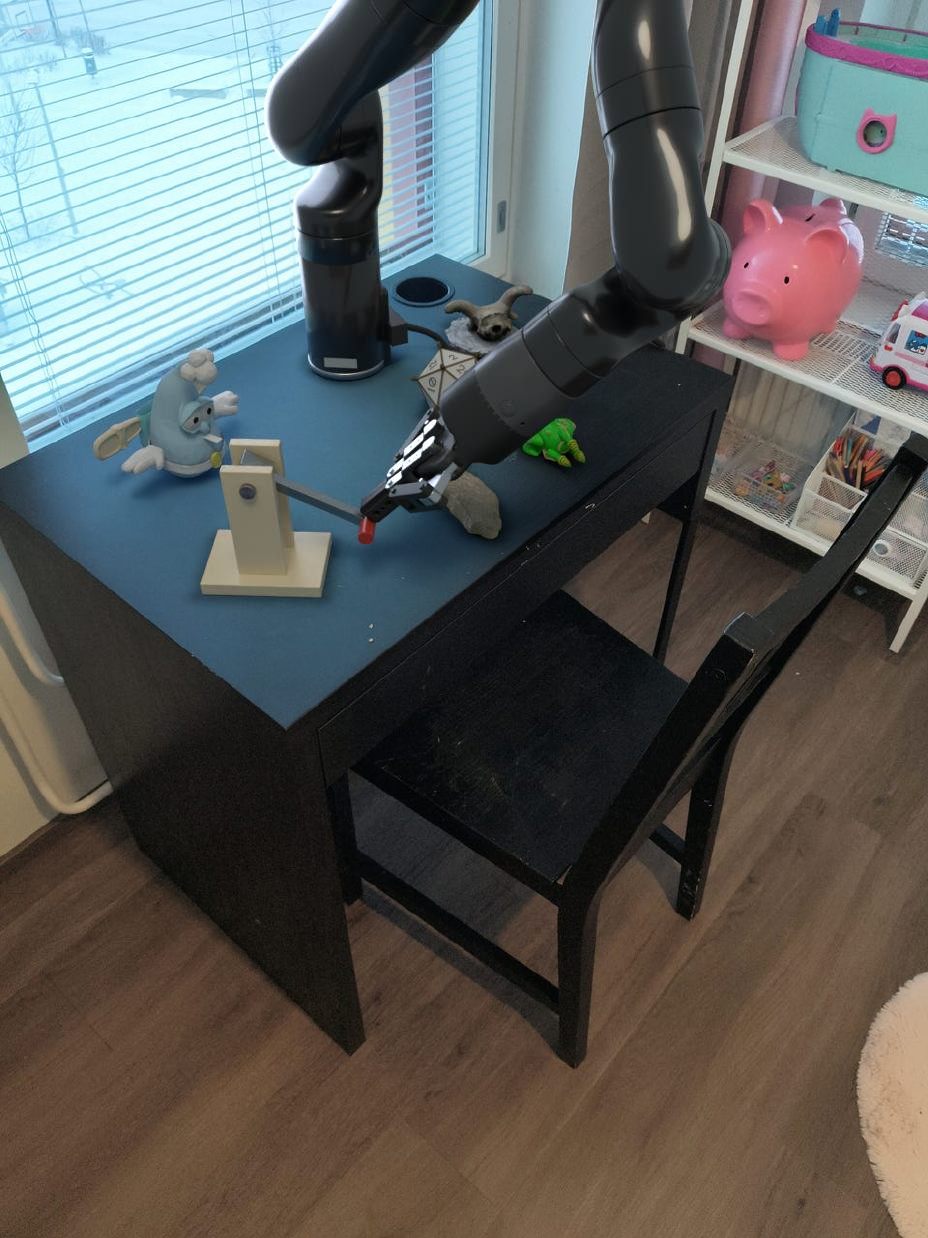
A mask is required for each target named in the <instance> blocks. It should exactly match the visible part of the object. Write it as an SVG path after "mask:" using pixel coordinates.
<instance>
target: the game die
mask: <svg viewBox="0 0 928 1238" xmlns="http://www.w3.org/2000/svg"><path fill="white" fill-rule="evenodd" d="M436 346H437V348H438V350H437V351H436V352H435V354H434V355H433V356H432V358H431V359H430V360H429V361H428V363H427V365H426V366H425V367H424V368H423V370H422V371H421V372H420V374H419V375H418V376H417V377H416V376H410V377H409V380H410V381H411V382H417V384H418V386H419V389H420V391H421V393H422V395H423V397H424V398H425V402H426V404H427V406H428V408H429V409H430V408H432V407H433V408H435V409H436V410H437V411H438V412H440V408H439V399H440V396H441V394H442V392H443V391H444V390H446V389H447V388H448V387H449V386H450V385H451V384H452V383H454V382H455V381H456V380H457V379H458V378H459V377H461V376H462V375H463V374H464V373H465V372H466V371H468V370H469V369H470V368H471V367H472V366H473V365H474V364H476V363H477V362H478V361H479V359H477V358H478V357H479V356H481V351H479V352H477V353H476V354H475V356H473V355H469V354H465V353H461V352H456V351H452V350H448V349H444V348H442V345H441V343H440V342H439V341H437V342H436Z"/></svg>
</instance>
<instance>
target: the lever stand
mask: <svg viewBox="0 0 928 1238" xmlns="http://www.w3.org/2000/svg"><path fill="white" fill-rule="evenodd" d="M282 447H283V446H282V441H281V439H256V438H230V440H229V444H228V448H229V454H230V459H231V460H230V461H231V465H230V464H229V465H227V464H223V465H222V464H221V465H220V469H219V477H220V483H221V487H222V492H223V497H224V498H223V499H224V503H225V508H226V513H227V518H228V524H229V529H218V530H217V532H216V534H215V537H214V541H213V544H212V547H211V550H210V552H209V556H208V559H207V562H206V564H205V568H204V572H203V575H202V578H201V581H200V590H201V594H202V595H211V596H212V595H214V596H246V597H247V596H251V597H279V598H280V597H283V598H285V597H286V598H322V596H323V591H324V585H325V581H326V575H327V570H328V566H329V561H330V554H331V549H332V544H333V539H332V533H331V532H328V531H327V532H324V531H323V532H319V531H294V527H293V520H292V514H291V513H292V512H291V505H290V504H291V503H290V498H289V497H290V496H287V495H285V494H282V493H280V492H278V491H277V490H276V484H275V477H274V473H276V474H278V475H281V476H283V477H285V478H287V476H286V469H285V468H286V467H285V462H284V461H285V460H284V455H283V454H284V453H283V448H282ZM245 449H246V450H248V451H250V452H253V453H255V454H257V455H260V456H262V457H264V458H267V459H269V460H271V461H274V462H275V465H274V468H273V467H271V466H238V463H239V461H240V459H241V457H242V455H243V452H244V450H245Z"/></svg>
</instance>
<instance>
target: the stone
mask: <svg viewBox="0 0 928 1238" xmlns="http://www.w3.org/2000/svg"><path fill="white" fill-rule="evenodd" d="M442 494H443V495H444V496H445V497H446V498H448V503H447V505H446V506H445V507H447V508H448V510H449V512H450V514H451V515H452V516H454V517H455V518H456V519H457V520H459V522H460V523H461V524H462V525H463V528H464V529H466V531H467V533H469V534H474V535H480V536H481V537H483V538H485V539H489V540H494V539H495V538H497V537H498V535H499V532H500V530H501V529H502V519H501V517H500V511H499V503H500V501H499V499H498V497H497V495H496V493H495V492H494V491H492V490H491V488H489V487H488V486H487V485H486V483H485V482H484V481H483V480H481V479H480V478H479V477H477V476H475V475H473V474H472V473H470V472H468V471H467V470H466V471H465V472H464V473H463V475H462V476H461V477H460V478H458V479H457V480H455V481H450V482H449V483H448V485H447V487H446V488H445V490H444V492H443V493H442Z"/></svg>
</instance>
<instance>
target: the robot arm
mask: <svg viewBox="0 0 928 1238" xmlns="http://www.w3.org/2000/svg"><path fill="white" fill-rule="evenodd" d="M480 2H481V0H336V1H335V2H334V4H333V5H332V7H331V8H330V10H329V11H328V13H327V14H326V15H325V17H324V19H323V21H322V22H321V23H320V25H319V26H318V27H317V28H316V30H315V31H314V32H313V34H312V35H310V37H309V38H308V40H306V42H305V43H304V44H303V45H302V46H301V47H300V48H299V49H298V50H297V51H296V52H295V53H294V54H293V55H292V57H291V58H290V59H288V60H287V62H286V63H285V64H284V65H283V66H282V67H281V68H280V69H279V70H278V71H277V73H275V75H274V77H273V79H272V80H271V81H270V84H269V86H268V89H267V92H266V95H265V99H264V106H263V109H264V111H263V118H264V119H263V120H264V126H265V132H266V135H267V138H268V141H269V143H270V144H271V146H272V148H273V150H274V151H275V152H276V154H278V156H279V157H281V158H282V159H283V160H285V161H286V162H287V163H289V164H292V165H294V166H298V167H303V168H308V167H310V168H311V167H312V168H313V167H318V169H317V170H316V172H315V173H314V175H313V176H312V177H311V178H310V179H309V181H308V182H306V183H305V184H304V185H303V186H302V187H301V188H299V190H298V191H297V193H296V194H295V196H294V199H293V201H292V209H293V210H292V211H293V220H294V230H295V240H296V249H297V259H298V264H299V265H298V267H299V277H300V287H301V296H302V305H303V313H304V322H305V331H306V332H305V333H306V343H307V353H308V355H307V358H308V359H307V360H308V365H309V368H310V370H312V371H313V372H314V373H315V374H316V375H318V376H321V377H323V378H326V379H330V380H336V381H337V380H338V381H353V380H360V379H364V378H367V377H370V376H373V375H375V374H376V373H378V372H380V370H382V368H384V366H387V365H390V364H392V348H394V347H398V346H402V345H406V344H409V332H414V333H418V334H421V335H424V336H427V337H429V338H431V339H433V340H434V341H435V342H436V343H437V341H439V342H440V343H441V345H442V348H444V349H448V350H452V351H456V352H461V353H465V354H469V355H473V356H475V354H474V353H475V352H474V353H471V352H463V351H459V350H456V349H453V348H452V347H451V345H450V344H448V343H447V342H446V340H444V338H443V337H442V336H441V335H439V333H437V332H435V331H433V330H432V329H430V328H427V327H424V326H421V325H416V324H414V323H409V322H407V321H406V320H405V319H404V318H403V317H402V316H401V315H400V313H398V312H397V311H396V310H395V309H394V307H392V306H390V305H389V304H390V302H389V300H390V299H389V291H388V288H386V286H385V285H383V283H382V271H381V257H380V256H381V254H380V237H379V236H380V235H379V207H380V203H381V201H382V198H383V192H384V115H383V105H382V99H381V95H380V91H379V90H381V88H383V87H385V86H387V85H389V84H390V83H392V82H394V81H395V80H397V79H399V78H400V77H402V76H403V75H405V74H406V73H408V72H410V71H411V70H413V69H414V68H416V67H417V66H419V65H421V64H422V63H423V62H424V61H427V59H428V58H430V57H431V56H432V55H433V54H434V53H436V52H437V51H438V50H439V49H441V47H443V45H445V44H446V43H447V42H448V41H449V39H451V37H452V36H453V35H454V33H456V31H457V30H458V29H459V28H460V26H461V25H462V24H464V22H465V21H466V20H467V19H468V17H470V15H471V14H472V13H473V12H474V10H475V9H476V7H477V6H478V5H479V3H480ZM596 12H597V13H596V16H595V21H594V25H593V31H592V38H591V48H590V70H591V71H590V72H591V73H590V74H591V81H592V89H593V94H594V99H595V105H596V110H597V115H598V120H599V126H600V132H601V136H602V137H601V138H602V141H603V142H602V143H603V147H604V151H605V155H606V159H607V162H608V163H607V164H608V171H609V172H608V174H609V175H608V176H609V177H608V201H609V203H608V204H609V205H608V206H609V227H610V240H611V247H612V249H611V250H612V254H613V259H614V264H613V265H611V266H610V267H609V268H608V269H607V270H605V271H604V272H603V273H602V274H600V275H599V276H598V277H596V278H594V279H593V280H591V281H589V282H586V283H582V284H579V285H576V286H574V287H571V288H569V289H568V290H566V291H565V292H563V293H561V295H559V296H558V297H557V298H555V299H554V300H553V301H552V302H550V303H549V304H548V305H546V306H545V307H544V308H543V309H542V310H541V311H539V313H537V314H536V315H535V316H534V317H533V318H531V320H529V321H528V322H527V323H526V324H525V325H524V326H522V327H521V328H520V329H519V330H518V331H517V332H515V333H514V334H512V335H511V336H509V337H507V338H506V339H504V340H503V341H502V342H500V343H499V344H498V345H497V346H495V347H494V348H493V349H492V350H491V351H489V352H488V353H486V354H485V355H483V356H481V357H478V358H477V359H478V362H477V363H476V364H474V365H473V366H472V367H471V368H470V369H469V370H468V371H466V372H465V373H464V374H463V375H462V376H461V377H459V378H458V379H457V380H456V381H455V382H454V383H452V384H451V385H450V386H449V387H448V388H447V389H446V390H444V391H443V392H442V394H441V396H440V399H439V408H440V412H438V411H437V410H436V409H435V408H433V407H432V408H429V409H428V410H426V412H425V413H424V415H423V416H422V418H421V419H420V421H419V422H418V424H416V426H415V428H414V429H413V430H412V431H411V433H410V434H409V436H408V438H407V439H406V440H405V441H404V443H403V444H402V445H401V447H400V448H399V449H398V451H397V452H396V453H395V455H394V457H393V462H394V463H395V464H394V465H393V466H392V467H390V469H389V470H388V472H387V474H386V478H384V479H383V481H381V482H380V483H379V484H377V485H376V486H375V487H374V488H373V489H371V490H370V491H369V492H368V493H367V494H365V495H364V496H363V497H362V498H361V501H360V507H359V509H360V512H361V514H363V515H364V516H365V517H367V518H368V519H369V520H370V521H372V522H373V523H376V524H378V523H380V522H382V520H384V519H385V518H386V517H388V515H390V514H391V513H393V512H394V511H395V510H396V509H398V508H399V507H401V508H403V509H404V510H405V511H407V513H410V514H416V513H427V512H428V513H429V512H439V511H442V510H443V509H445V508H446V507H447V506H446V505H447V503H448V498H446V497H445V496H444V495H443V494H442V493H443V492H444V490H445V488H446V487H447V485H448V483H449V482H450V481H455V480H457V479H458V478H460V477H461V476H462V475H463V473H464V472H465V471H466V472H467V470H469V468H470V467H471V466H472V465H473V464H475V463H476V464H477V463H478V464H483V465H484V464H485V465H489V466H495V465H498V464H500V463H501V462H503V461H504V460H505V459H507V458H508V457H509V456H511V455H512V454H513V453H514V452H516V451H517V450H519V448H521V447H523V445H524V444H525V443H526V442H527V441H528V440H530V439H531V438H532V437H533V436H535V435H536V434H537V433H539V432H540V431H541V430H542V429H544V428H545V427H546V426H548V425H549V424H550V423H551V422H553V421H554V420H555V419H556V418H559V417H560V416H561V415H562V414H563V413H564V412H565V411H566V410H567V409H568V408H569V407H570V406H571V405H572V404H573V403H574V402H575V401H576V400H577V399H579V397H581V396H582V395H583V394H585V393H586V392H587V391H588V390H591V388H592V387H594V386H595V385H596V384H597V383H599V382H600V381H602V379H604V378H605V377H607V375H609V374H610V373H611V372H612V371H614V370H615V369H616V368H617V367H618V366H619V365H620V364H621V363H623V361H625V360H626V359H627V358H629V357H630V356H631V355H632V354H633V353H635V352H636V351H639V350H640V349H642V348H643V347H645V346H647V345H649V344H650V343H652V344H654V345H655V346H657V347H658V348H662V349H663V348H666V347H667V345H666V344H665V343H664V341H663V340H661V338H660V337H661V336H663V335H664V334H667V333H668V332H670V331H671V330H672V329H674V328H675V327H677V326H679V325H680V324H682V323H683V322H685V321H687V319H689V318H690V317H692V316H693V315H694V314H696V313H697V312H699V311H700V310H701V309H703V308H704V307H705V306H706V305H707V304H710V302H711V301H712V300H713V299H714V298H715V297H716V296H717V295H718V294H719V293H720V291H721V290H722V289H723V287H724V286H725V284H726V283H727V281H728V278H729V276H730V273H731V270H732V269H731V268H732V265H733V250H732V245H731V241H730V239H729V236H728V235H727V233H726V231H725V230H724V228H723V227H722V226H721V225H720V224H719V223H718V222H717V221H715V220H714V219H712V218H711V217H709V214H708V211H707V205H706V199H705V193H704V186H703V180H702V179H703V178H702V173H701V166H700V158H701V155H702V154H703V151H704V147H705V130H704V120H703V114H702V107H701V102H700V101H701V100H700V96H699V95H700V94H699V90H698V84H697V78H696V73H695V65H694V61H693V55H692V49H691V45H690V38H689V37H690V36H689V30H688V24H687V22H688V21H687V16H686V4H685V0H599V4H598V7H597V11H596Z"/></svg>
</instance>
